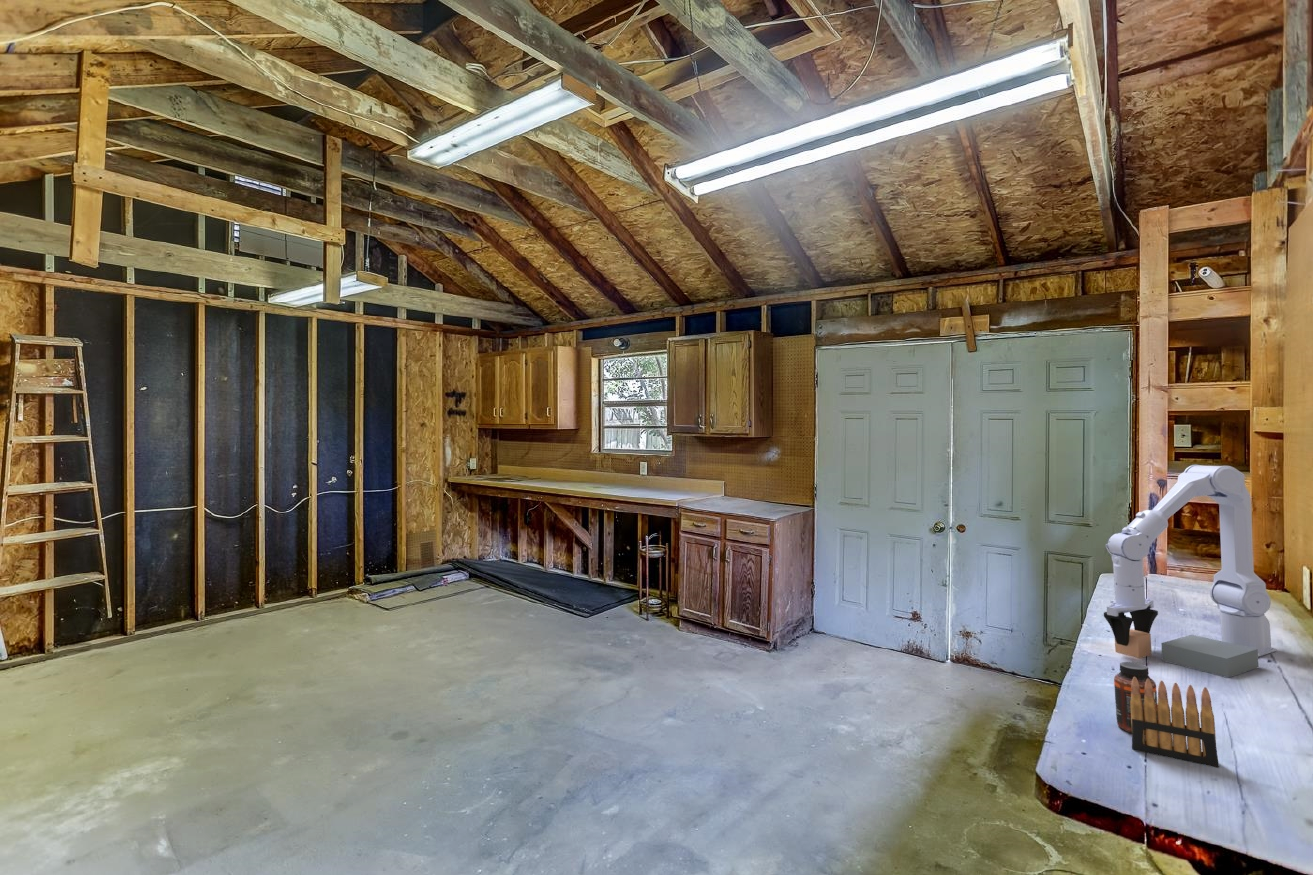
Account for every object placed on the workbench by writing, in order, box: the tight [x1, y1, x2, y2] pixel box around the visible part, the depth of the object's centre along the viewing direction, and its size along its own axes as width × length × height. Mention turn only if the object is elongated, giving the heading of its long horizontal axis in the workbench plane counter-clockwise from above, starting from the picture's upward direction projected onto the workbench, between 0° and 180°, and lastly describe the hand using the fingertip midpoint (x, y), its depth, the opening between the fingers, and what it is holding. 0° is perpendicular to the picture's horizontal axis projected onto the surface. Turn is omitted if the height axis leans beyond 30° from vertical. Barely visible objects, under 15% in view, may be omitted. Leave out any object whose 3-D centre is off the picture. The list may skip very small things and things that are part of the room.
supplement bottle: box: [1113, 661, 1159, 734], centre depth 108 cm, size 6×6×11 cm
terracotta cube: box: [1114, 628, 1153, 659], centre depth 145 cm, size 5×5×5 cm
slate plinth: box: [1161, 634, 1260, 678], centre depth 136 cm, size 12×12×4 cm
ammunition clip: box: [1130, 676, 1220, 769], centre depth 99 cm, size 11×2×12 cm, turn 52°
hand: (1132, 642), depth 145 cm, fingers open, 7 cm apart
